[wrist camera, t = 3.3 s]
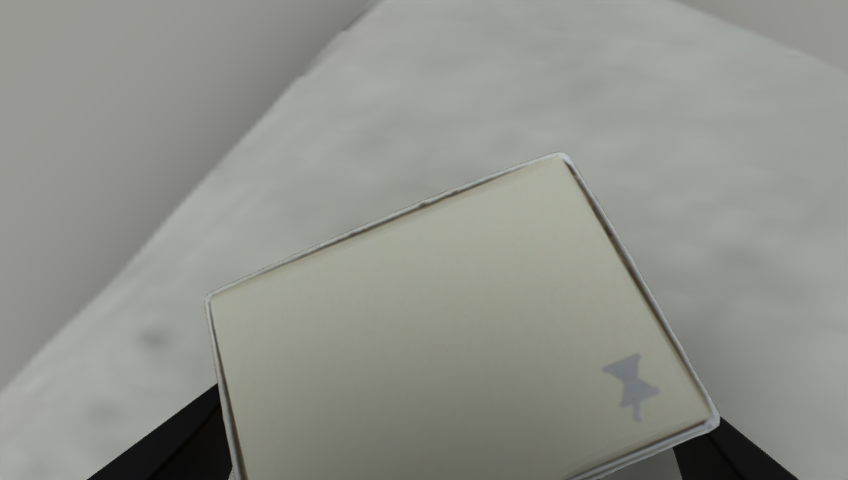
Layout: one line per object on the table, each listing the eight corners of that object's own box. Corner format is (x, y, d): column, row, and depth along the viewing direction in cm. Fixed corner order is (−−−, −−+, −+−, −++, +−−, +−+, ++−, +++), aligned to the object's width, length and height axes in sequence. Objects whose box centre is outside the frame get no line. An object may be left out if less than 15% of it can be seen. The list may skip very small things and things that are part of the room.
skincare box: (500, 281, 18) (585, 128, 6) (544, 378, 16) (762, 421, 5) (365, 336, 17) (183, 286, 6) (399, 438, 16) (253, 638, 5)
